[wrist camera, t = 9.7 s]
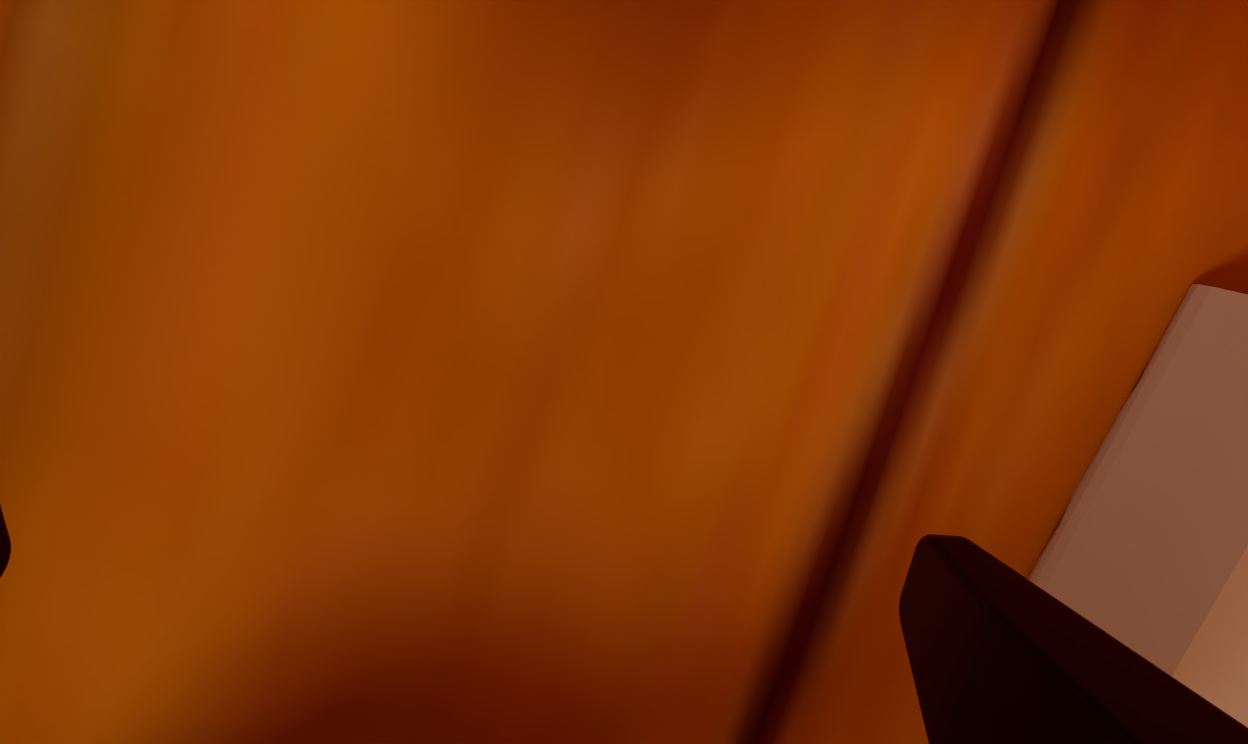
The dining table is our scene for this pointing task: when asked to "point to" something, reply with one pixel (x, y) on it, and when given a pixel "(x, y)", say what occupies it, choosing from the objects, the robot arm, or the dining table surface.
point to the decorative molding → (1171, 509)
